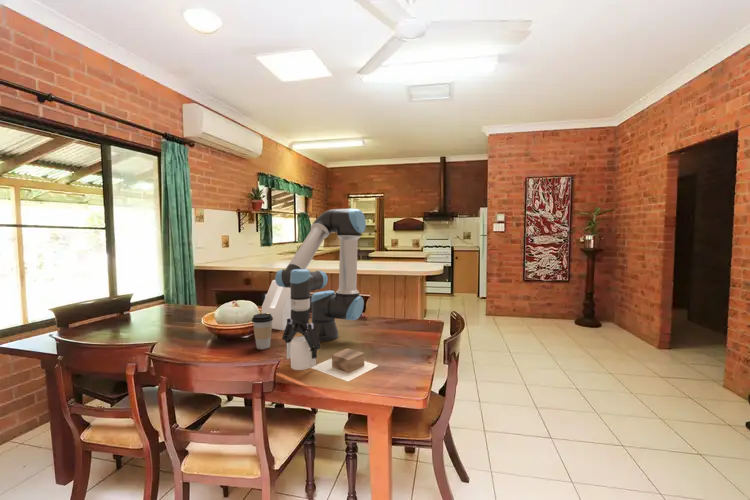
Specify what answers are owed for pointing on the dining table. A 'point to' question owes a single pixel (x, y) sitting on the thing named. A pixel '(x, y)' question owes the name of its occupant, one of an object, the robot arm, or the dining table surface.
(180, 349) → the dining table surface
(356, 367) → the walnut block
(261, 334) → the coffee cup
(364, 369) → the build board
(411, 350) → the dining table surface
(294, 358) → the beverage can
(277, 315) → the white slotted holder
